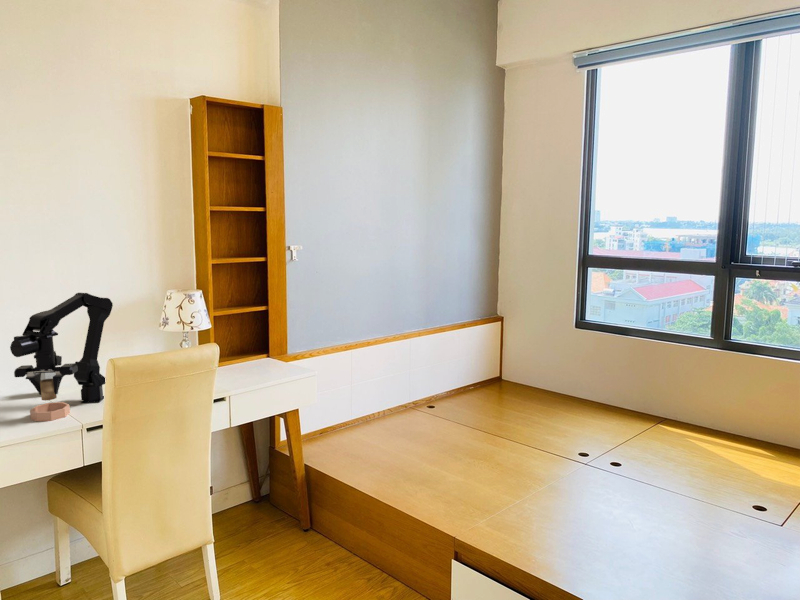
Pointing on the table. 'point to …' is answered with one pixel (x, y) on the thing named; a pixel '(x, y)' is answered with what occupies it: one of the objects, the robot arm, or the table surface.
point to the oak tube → (47, 389)
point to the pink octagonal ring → (44, 410)
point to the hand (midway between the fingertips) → (48, 394)
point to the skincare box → (47, 376)
